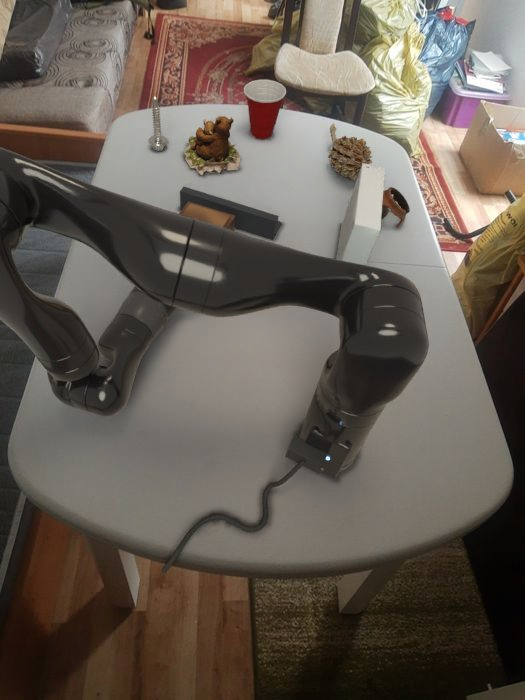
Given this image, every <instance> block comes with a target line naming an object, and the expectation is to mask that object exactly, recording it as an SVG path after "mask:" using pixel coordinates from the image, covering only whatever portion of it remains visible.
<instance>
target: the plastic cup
mask: <svg viewBox="0 0 525 700" xmlns="http://www.w3.org/2000/svg"><path fill="white" fill-rule="evenodd" d="M243 93H244V95H245V97H246V101H247V109H248V119H249V127H250V128H249V129H250V130H249V131H250V134H251V136H252V137H253V138H255V139H259V140H268V139H270V138H271V137H272V135H273V133H274V129H275V126H276V124H277V120H278V117H279V114H280V110H281V106H282V103H283V100H284V97H286V94H287V89H286V87H285V86H284V85H283V84H282V83H280V82H278V81H276V80H272V79H256V80H251V81H250V82H247V83H246V84H245V86H244V87H243Z"/></svg>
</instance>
